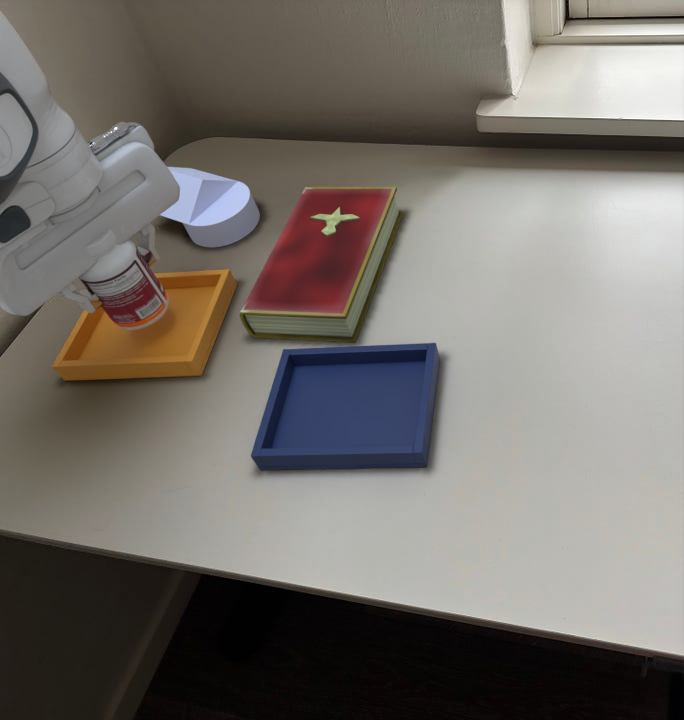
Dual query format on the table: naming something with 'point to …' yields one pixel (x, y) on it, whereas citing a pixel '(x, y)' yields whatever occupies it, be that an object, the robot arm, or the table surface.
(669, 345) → the table surface
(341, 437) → the navy tray
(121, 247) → the pill bottle
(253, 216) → the wedge on round base
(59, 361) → the amber tray
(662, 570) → the table surface
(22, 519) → the table surface
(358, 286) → the hardcover book
